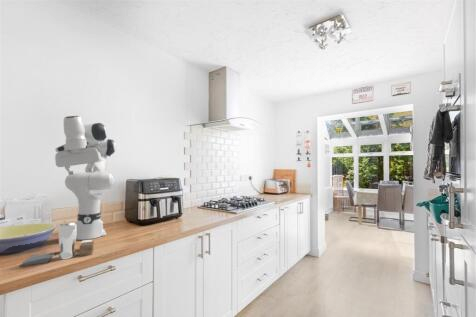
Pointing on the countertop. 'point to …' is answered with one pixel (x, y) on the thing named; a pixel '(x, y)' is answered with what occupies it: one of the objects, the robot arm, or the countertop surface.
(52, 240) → the countertop surface
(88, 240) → the pale grey block
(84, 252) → the walnut cube
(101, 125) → the robot arm
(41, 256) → the charcoal mat
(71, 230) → the beer glass
